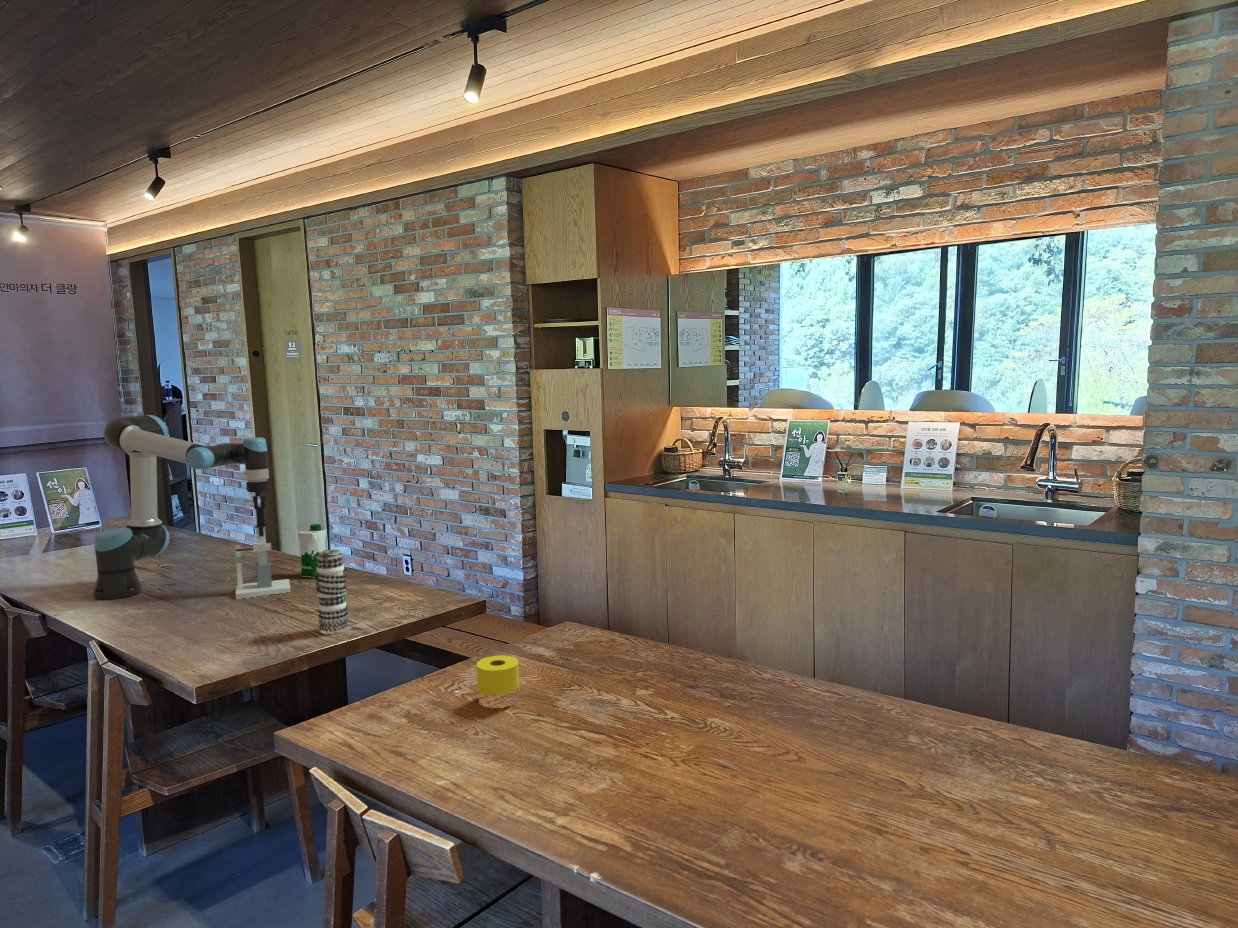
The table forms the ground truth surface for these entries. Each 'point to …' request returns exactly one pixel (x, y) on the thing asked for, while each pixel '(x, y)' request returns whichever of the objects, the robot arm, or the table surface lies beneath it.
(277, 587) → the stand
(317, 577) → the decorative candle
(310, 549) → the milk carton
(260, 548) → the square paddle
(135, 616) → the table surface
